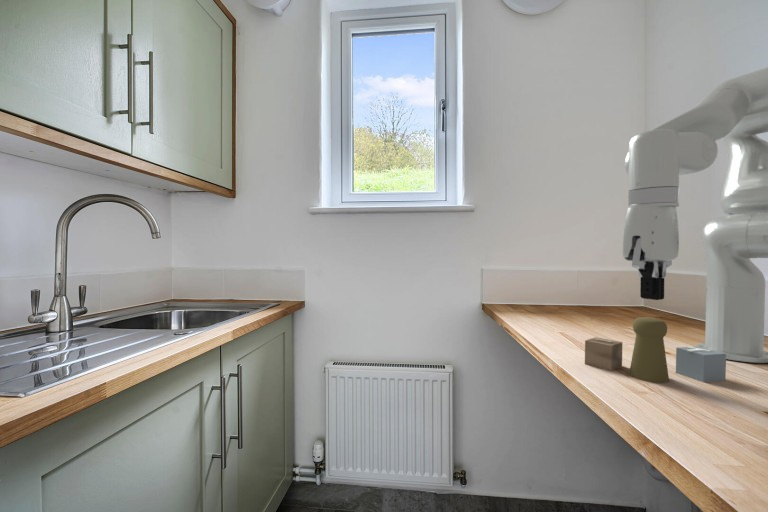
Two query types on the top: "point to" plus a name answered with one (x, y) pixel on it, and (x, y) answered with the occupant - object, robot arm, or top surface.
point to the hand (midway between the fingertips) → (652, 298)
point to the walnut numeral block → (603, 353)
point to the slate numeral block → (701, 364)
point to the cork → (649, 350)
